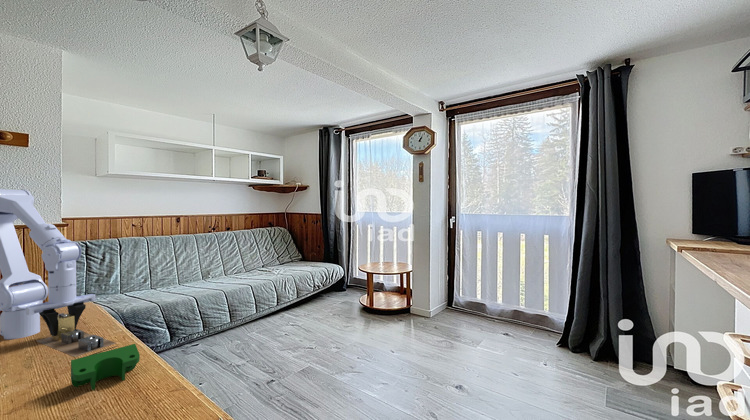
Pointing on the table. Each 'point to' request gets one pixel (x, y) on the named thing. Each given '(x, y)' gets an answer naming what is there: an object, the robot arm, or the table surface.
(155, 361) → the table surface
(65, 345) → the board
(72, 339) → the steel ball guide
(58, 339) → the brushed brass block
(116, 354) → the clamp
